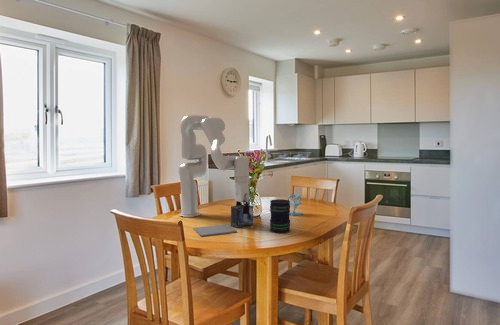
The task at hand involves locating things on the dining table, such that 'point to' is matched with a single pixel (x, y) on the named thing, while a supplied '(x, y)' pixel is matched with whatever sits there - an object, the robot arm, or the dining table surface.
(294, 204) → the chair
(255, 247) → the dining table surface
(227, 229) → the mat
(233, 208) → the small box
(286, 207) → the storage jar
